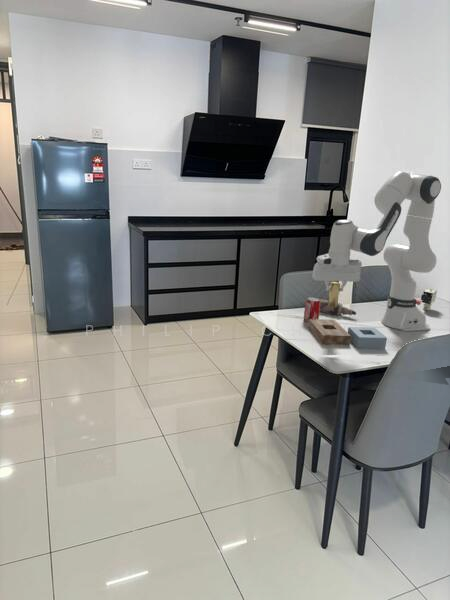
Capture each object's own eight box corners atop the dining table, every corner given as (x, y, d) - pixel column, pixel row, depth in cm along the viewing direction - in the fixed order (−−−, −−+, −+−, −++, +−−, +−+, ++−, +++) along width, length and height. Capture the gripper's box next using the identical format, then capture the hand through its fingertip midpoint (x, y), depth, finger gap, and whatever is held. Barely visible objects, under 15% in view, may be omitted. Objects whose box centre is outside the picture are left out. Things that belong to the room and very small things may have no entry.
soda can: (317, 326, 208) (321, 302, 205) (302, 324, 210) (305, 300, 206) (318, 321, 215) (321, 297, 212) (303, 319, 216) (306, 296, 213)
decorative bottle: (304, 310, 232) (306, 297, 230) (310, 306, 238) (311, 295, 236) (353, 321, 219) (355, 308, 217) (357, 317, 225) (359, 305, 223)
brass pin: (335, 304, 192) (338, 282, 189) (338, 307, 189) (341, 284, 186) (326, 304, 192) (329, 281, 189) (329, 306, 188) (332, 284, 185)
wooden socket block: (332, 329, 205) (334, 319, 203) (349, 346, 186) (350, 335, 184) (307, 329, 203) (309, 319, 202) (321, 346, 184) (323, 335, 183)
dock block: (372, 340, 195) (374, 327, 193) (384, 351, 184) (387, 337, 182) (346, 339, 194) (348, 326, 192) (357, 350, 182) (359, 337, 181)
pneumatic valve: (433, 308, 249) (438, 288, 245) (428, 312, 240) (432, 291, 237) (423, 306, 252) (427, 286, 249) (417, 310, 243) (421, 289, 240)
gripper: (359, 258, 188) (354, 289, 193) (313, 256, 186) (309, 288, 190) (365, 261, 182) (360, 293, 187) (317, 260, 180) (313, 292, 184)
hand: (334, 290), depth 188 cm, fingers closed on brass pin, 4 cm apart
